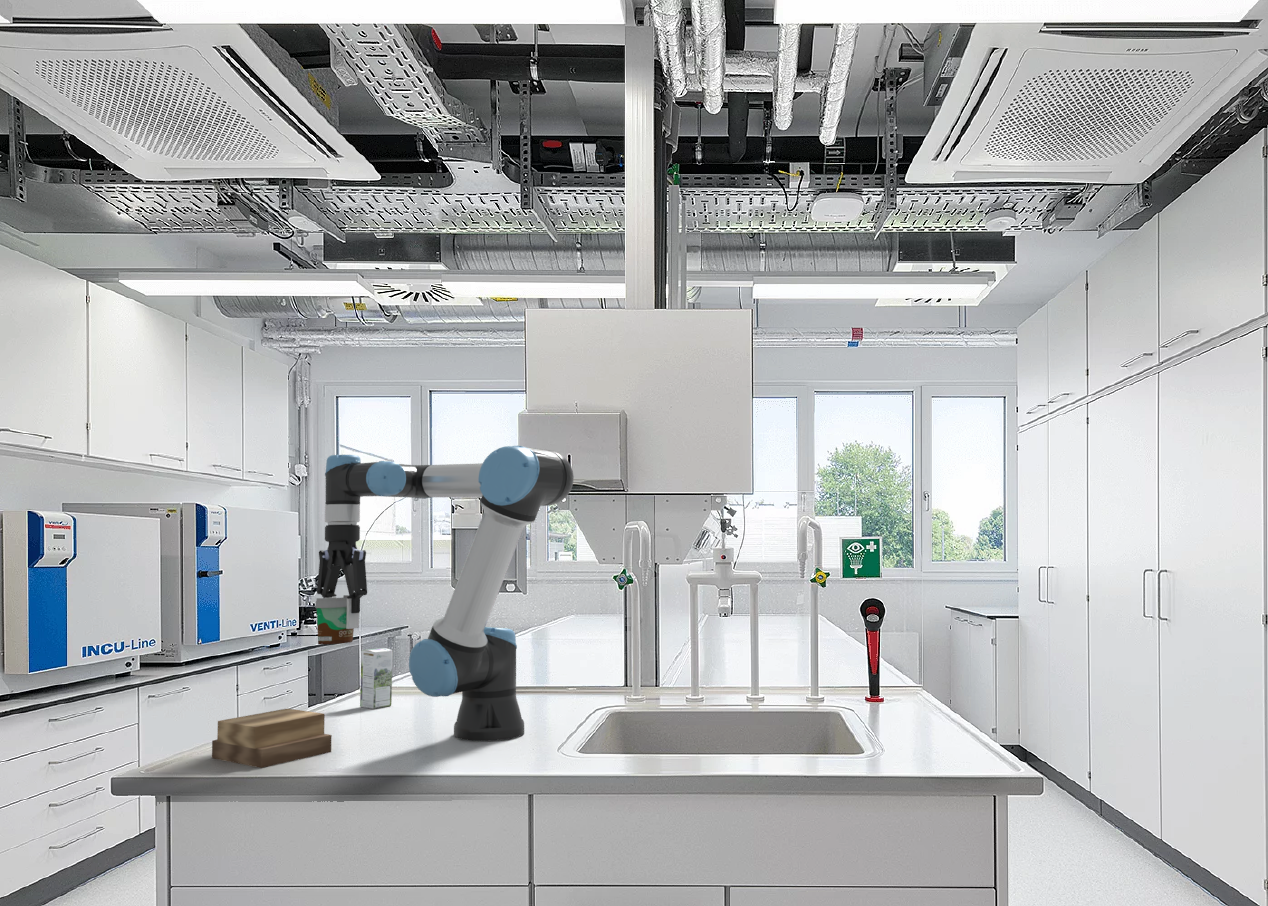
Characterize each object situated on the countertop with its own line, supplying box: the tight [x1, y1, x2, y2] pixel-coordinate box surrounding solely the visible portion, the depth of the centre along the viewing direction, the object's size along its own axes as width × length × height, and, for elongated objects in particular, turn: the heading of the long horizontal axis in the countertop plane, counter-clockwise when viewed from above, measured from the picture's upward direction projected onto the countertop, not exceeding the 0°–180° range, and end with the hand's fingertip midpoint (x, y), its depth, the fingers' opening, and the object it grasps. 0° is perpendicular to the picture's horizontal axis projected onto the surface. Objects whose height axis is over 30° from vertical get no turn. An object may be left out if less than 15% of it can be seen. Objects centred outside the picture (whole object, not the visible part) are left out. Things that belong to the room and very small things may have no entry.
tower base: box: [211, 733, 332, 769], centre depth 195 cm, size 16×16×4 cm
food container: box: [314, 594, 355, 645], centre depth 217 cm, size 12×6×10 cm, turn 166°
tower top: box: [216, 707, 325, 749], centre depth 195 cm, size 12×16×4 cm
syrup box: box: [359, 647, 394, 710], centre depth 250 cm, size 6×6×14 cm
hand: (341, 627), depth 217 cm, fingers closed on food container, 7 cm apart
